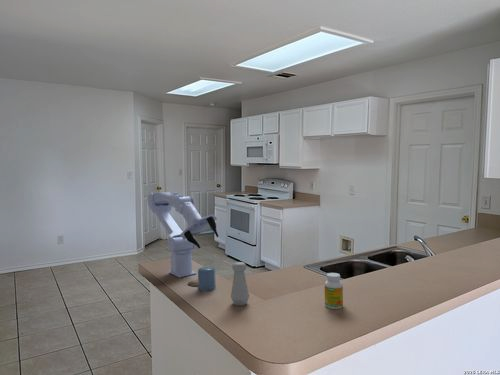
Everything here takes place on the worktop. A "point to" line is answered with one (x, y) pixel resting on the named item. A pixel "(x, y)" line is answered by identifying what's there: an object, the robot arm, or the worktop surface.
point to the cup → (206, 278)
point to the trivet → (193, 283)
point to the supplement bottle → (333, 291)
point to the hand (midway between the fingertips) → (208, 240)
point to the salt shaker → (239, 285)
